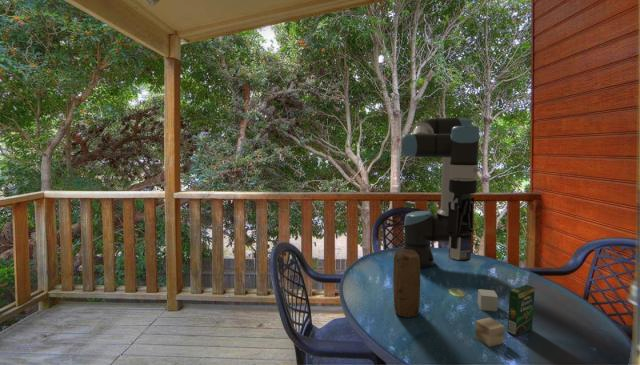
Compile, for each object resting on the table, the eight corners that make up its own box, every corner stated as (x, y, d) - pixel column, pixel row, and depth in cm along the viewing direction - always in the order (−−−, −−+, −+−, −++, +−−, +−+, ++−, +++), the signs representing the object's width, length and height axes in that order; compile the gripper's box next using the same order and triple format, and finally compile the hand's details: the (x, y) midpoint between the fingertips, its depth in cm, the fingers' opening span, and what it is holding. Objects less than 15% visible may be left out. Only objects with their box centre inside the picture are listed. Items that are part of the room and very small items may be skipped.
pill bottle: (473, 258, 103) (475, 222, 102) (466, 263, 99) (468, 226, 97) (452, 254, 107) (454, 219, 106) (445, 258, 103) (446, 222, 101)
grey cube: (477, 303, 117) (478, 289, 117) (493, 304, 116) (494, 290, 116) (480, 309, 113) (481, 295, 112) (497, 311, 111) (498, 297, 111)
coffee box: (515, 337, 96) (518, 293, 95) (506, 332, 99) (508, 289, 97) (533, 330, 100) (536, 287, 99) (523, 325, 103) (526, 283, 101)
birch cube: (475, 337, 97) (475, 320, 96) (488, 333, 99) (489, 317, 98) (489, 347, 92) (490, 329, 92) (503, 343, 94) (504, 326, 93)
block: (420, 319, 106) (422, 257, 104) (396, 318, 107) (397, 256, 105) (413, 303, 117) (414, 246, 115) (391, 302, 118) (392, 246, 115)
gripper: (462, 183, 91) (458, 267, 93) (487, 177, 104) (483, 251, 107) (435, 181, 96) (432, 260, 99) (463, 175, 110) (459, 246, 112)
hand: (459, 255), depth 103 cm, fingers closed on pill bottle, 6 cm apart
